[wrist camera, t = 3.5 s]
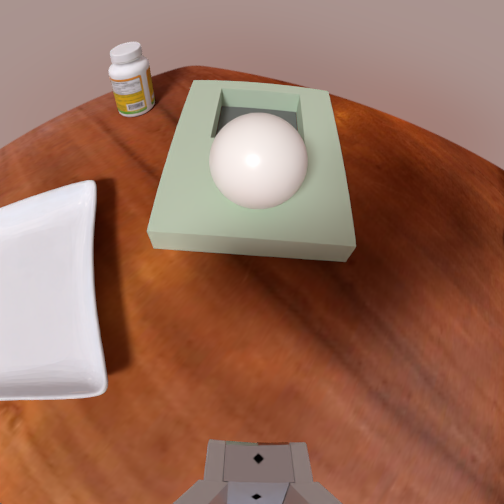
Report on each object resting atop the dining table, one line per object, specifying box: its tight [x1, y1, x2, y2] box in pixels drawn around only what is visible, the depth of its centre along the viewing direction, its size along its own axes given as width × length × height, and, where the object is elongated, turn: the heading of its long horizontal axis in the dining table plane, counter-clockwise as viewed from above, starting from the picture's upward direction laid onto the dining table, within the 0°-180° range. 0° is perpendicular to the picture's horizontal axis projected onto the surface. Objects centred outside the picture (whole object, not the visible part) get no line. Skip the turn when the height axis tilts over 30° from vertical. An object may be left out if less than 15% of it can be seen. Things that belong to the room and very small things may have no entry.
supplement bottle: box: [109, 42, 155, 117], centre depth 35 cm, size 5×5×10 cm
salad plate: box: [0, 180, 108, 401], centre depth 24 cm, size 21×21×3 cm
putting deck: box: [147, 80, 356, 262], centre depth 34 cm, size 18×24×3 cm
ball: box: [209, 113, 308, 209], centre depth 25 cm, size 8×8×8 cm
